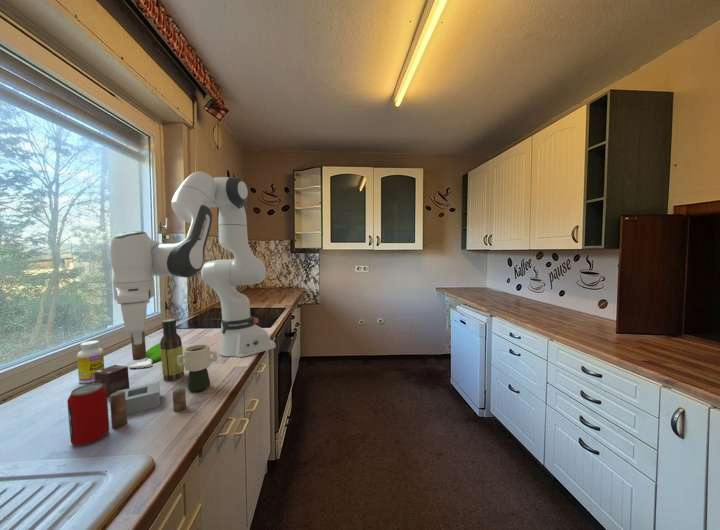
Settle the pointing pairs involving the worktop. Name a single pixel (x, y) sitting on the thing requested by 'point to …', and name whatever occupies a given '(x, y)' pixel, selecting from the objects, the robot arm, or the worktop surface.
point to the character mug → (197, 365)
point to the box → (113, 378)
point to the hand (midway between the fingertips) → (138, 341)
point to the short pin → (179, 400)
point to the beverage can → (88, 414)
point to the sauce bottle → (171, 351)
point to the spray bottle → (153, 355)
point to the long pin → (139, 348)
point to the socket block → (142, 397)
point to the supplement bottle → (89, 361)
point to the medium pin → (118, 409)
